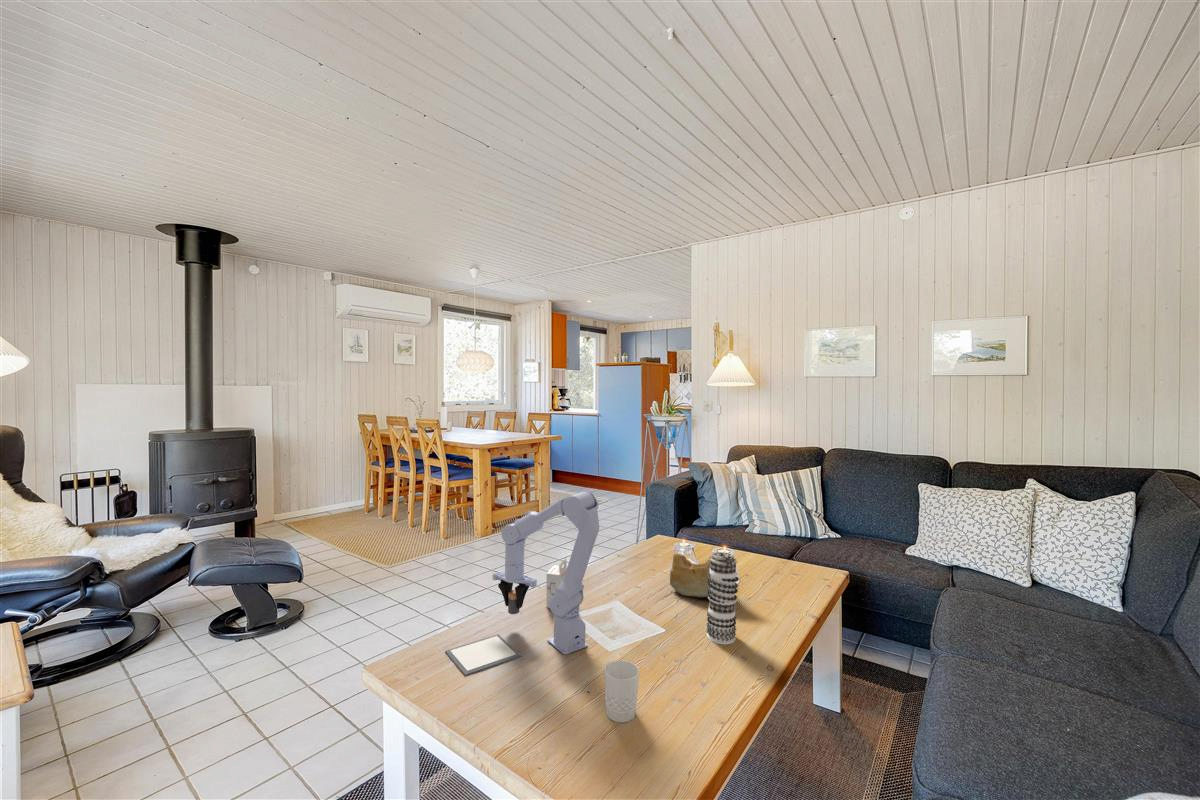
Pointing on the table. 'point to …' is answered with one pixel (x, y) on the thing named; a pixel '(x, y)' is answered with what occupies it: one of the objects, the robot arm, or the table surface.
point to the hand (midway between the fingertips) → (513, 606)
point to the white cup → (621, 690)
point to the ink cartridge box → (555, 579)
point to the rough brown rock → (689, 577)
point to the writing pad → (482, 654)
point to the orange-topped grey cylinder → (512, 602)
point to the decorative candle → (722, 598)
